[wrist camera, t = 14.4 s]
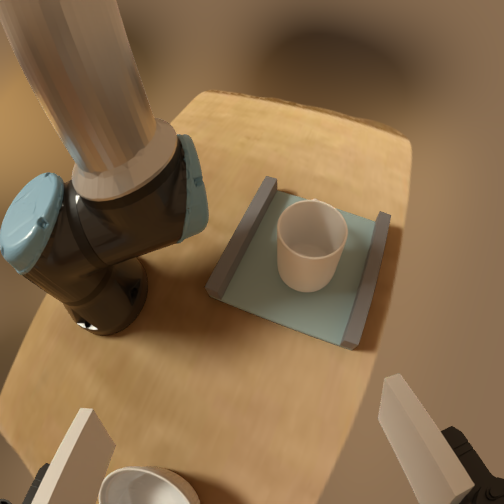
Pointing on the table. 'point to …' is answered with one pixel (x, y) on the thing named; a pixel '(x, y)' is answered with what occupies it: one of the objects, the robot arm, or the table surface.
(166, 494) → the ramekin
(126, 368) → the table surface
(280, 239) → the mug
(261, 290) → the tray with side rails
